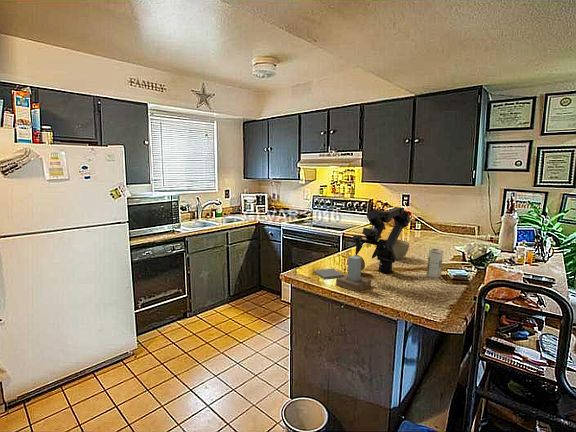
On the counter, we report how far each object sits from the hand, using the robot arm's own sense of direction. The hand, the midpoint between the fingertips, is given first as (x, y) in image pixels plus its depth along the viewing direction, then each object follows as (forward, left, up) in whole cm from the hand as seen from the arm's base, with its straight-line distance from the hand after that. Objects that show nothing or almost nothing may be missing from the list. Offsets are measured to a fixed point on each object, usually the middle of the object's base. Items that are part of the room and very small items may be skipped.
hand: (364, 256), depth 162 cm
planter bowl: (-49, -32, -13) cm, 60 cm away
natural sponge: (-6, -14, -13) cm, 20 cm away
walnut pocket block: (+7, +3, -13) cm, 15 cm away
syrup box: (-43, +5, -13) cm, 45 cm away
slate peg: (+7, +3, -13) cm, 15 cm away
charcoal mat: (+10, -16, -13) cm, 23 cm away
